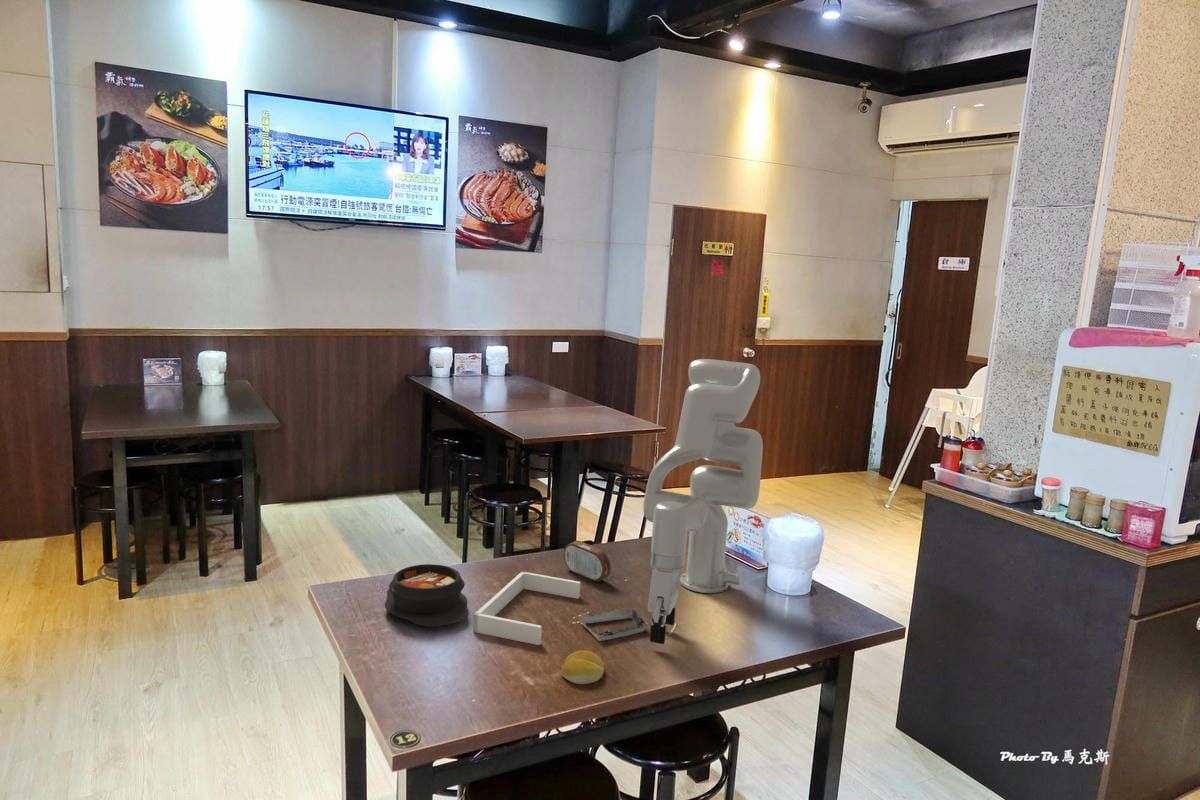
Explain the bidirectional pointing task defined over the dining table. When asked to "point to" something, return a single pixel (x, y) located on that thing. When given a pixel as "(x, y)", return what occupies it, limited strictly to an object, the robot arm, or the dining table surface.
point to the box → (524, 580)
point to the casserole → (427, 595)
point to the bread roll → (583, 667)
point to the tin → (587, 561)
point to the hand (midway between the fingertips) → (662, 632)
